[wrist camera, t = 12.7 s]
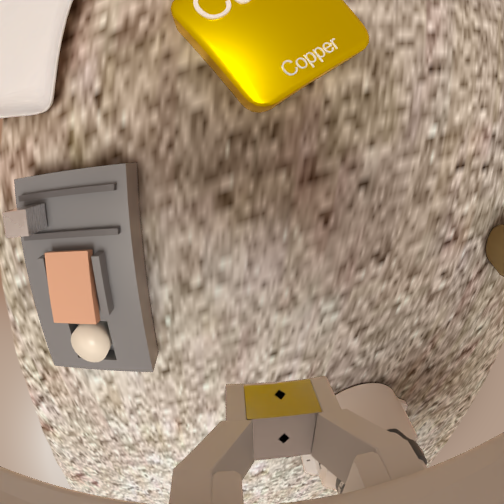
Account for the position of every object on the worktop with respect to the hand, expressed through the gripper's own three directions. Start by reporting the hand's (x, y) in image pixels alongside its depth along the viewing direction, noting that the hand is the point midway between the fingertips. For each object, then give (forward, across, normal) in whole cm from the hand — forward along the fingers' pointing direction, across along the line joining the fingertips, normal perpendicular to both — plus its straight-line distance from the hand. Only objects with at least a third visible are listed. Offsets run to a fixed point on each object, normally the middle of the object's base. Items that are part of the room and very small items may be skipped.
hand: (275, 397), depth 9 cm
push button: (+23, +17, +10) cm, 30 cm away
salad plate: (+24, +28, -26) cm, 45 cm away
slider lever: (+20, +21, -4) cm, 29 cm away
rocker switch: (+19, +17, +3) cm, 26 cm away
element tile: (+25, -3, -22) cm, 33 cm away
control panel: (+25, +17, +3) cm, 30 cm away
